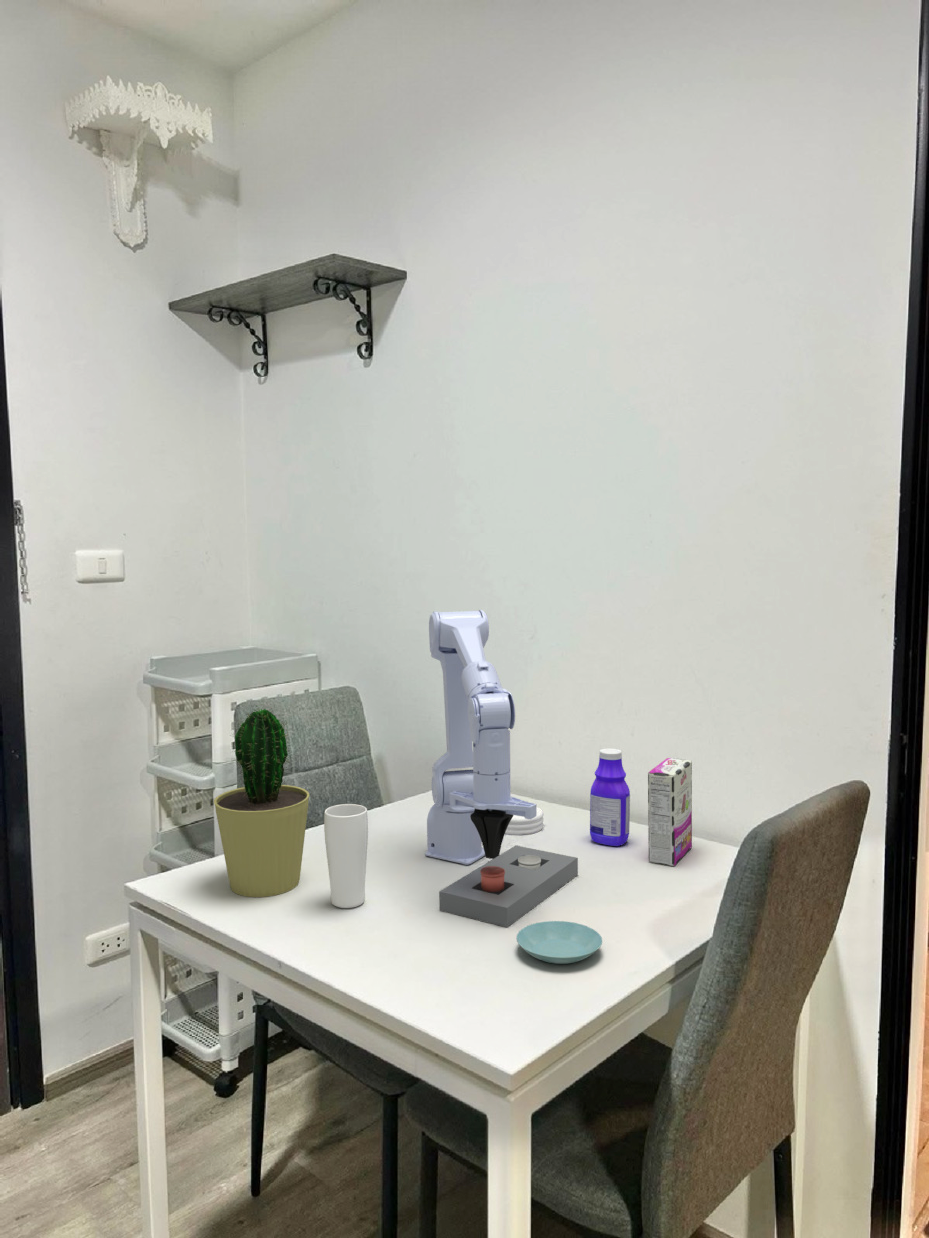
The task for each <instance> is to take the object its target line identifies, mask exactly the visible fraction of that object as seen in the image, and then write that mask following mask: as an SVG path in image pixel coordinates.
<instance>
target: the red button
mask: <svg viewBox="0 0 929 1238" xmlns="http://www.w3.org/2000/svg"><path fill="white" fill-rule="evenodd" d="M480 874H481V888H482V890H484V891H488V892H498V891H501V890H503V889H504V874H505V870H504V869H503V868H501V867H497V866H488V867H484V868H482V869H481V870H480Z"/></svg>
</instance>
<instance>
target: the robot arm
mask: <svg viewBox="0 0 929 1238" xmlns="http://www.w3.org/2000/svg"><path fill="white" fill-rule="evenodd" d="M489 623H490V622H489V618H488V615H487V613H486V612H485V611H484V610H483V609H478V610H466V611H465V610H463V611H461V610H459V611H433V612H431V614H430V615H429V620H428V638H429V641H428V642H429V652H430V656H431V657H432V658H433V659H435V660H436V661H437V660H438V661H439V663H440V665H441V671H442V679H443V681H442V683H443V698H444V699H443V703H444V704H443V705H444V718H445V719H444V720H445V721H444V722H445V723H444V724H445V736H446V738H445V739H446V740H445V741H446V752H445V753H444V754H443V755H441V756H440V757H439V758H438V759H436V760H435V761H434V763H433V765H432V767H431V768H432V769H431V770H432V776H431V794H432V795H431V796H432V800H433V803H434V804H433V805H432V806H431V807H430V809H429V811H428V815H427V818H426V836H427V837H426V839H427V840H426V843H427V844H426V847H427V848H426V849H427V850H426V852H425V853H424V856H427V857H430V858H435V859H438V860H442V861H443V860H444V861H449V862H453V863H456V864H457V863H458V864H463V865H467V866H469V865H471V864H473V863H475V862H476V861H479V860H480V859H482V858H484V857H485V858H487V859H490V860H492V859H494V858H496V857H497V856H499V855H501V854H500V853H501V849H502V846H503V845H502V844H503V841H504V837H505V835H506V834H505V832H506V829H507V827H508V825H509V823H510V821H511V819H512V817H513V815H517V816H522V817H525V819H532V818H534V817H536V816H537V807H538V806H537V803H533V802H529V801H525V800H522V799H520V798H517V797H514V796H512V795H511V731H510V730H513V729H514V727H515V722H516V706H515V699H514V697H513V695H512V693H511V691H509V690H508V689H507V688H503V686H502V683H501V681H500V678H499V675H498V672H497V670H496V667H495V666H494V664H492V662H490V661H487V659H486V656H485V650H484V648H485V646H486V643H487V642H488V641H489V636H490V625H489ZM509 729H510V730H509ZM465 768H472V769H465ZM453 769H460V770H453Z"/></svg>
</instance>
